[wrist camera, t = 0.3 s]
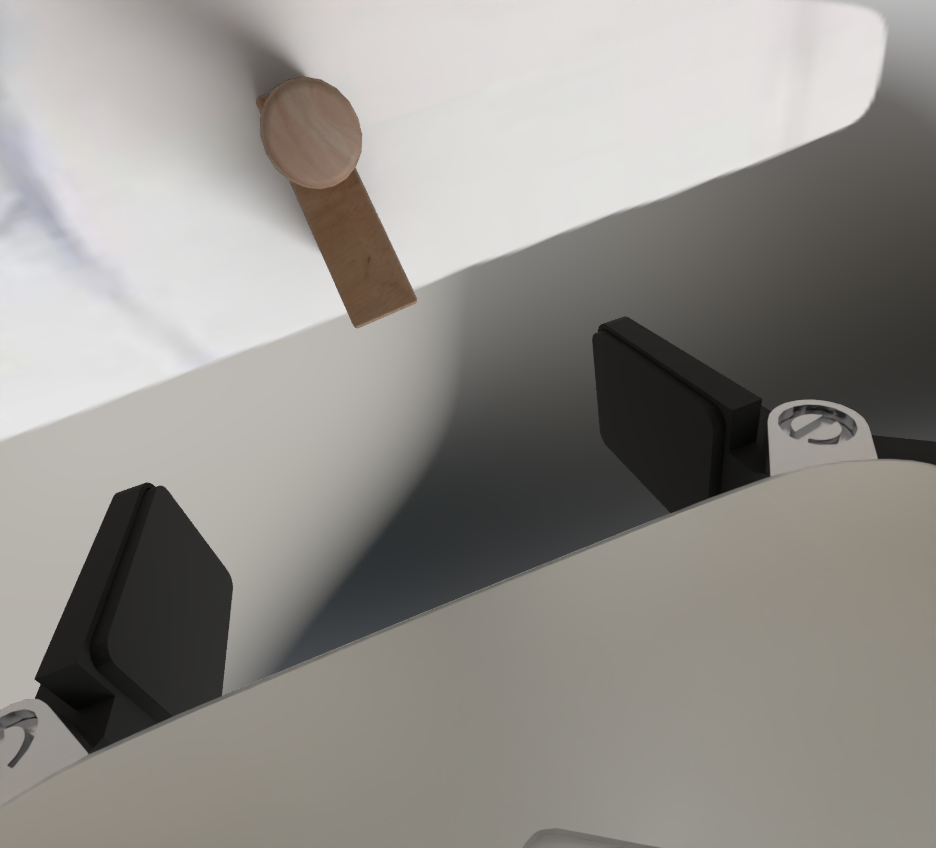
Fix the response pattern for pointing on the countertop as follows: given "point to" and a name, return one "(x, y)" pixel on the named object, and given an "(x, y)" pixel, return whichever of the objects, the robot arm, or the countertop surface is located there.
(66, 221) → the countertop surface
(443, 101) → the countertop surface
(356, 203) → the wooden block
